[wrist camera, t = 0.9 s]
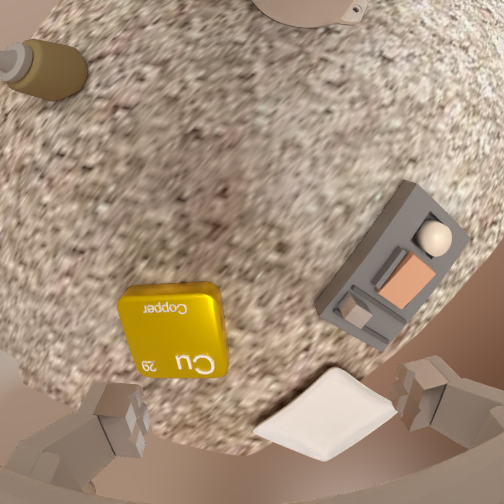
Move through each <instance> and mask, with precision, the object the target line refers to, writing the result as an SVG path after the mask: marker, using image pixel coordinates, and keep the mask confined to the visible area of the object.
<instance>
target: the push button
mask: <svg viewBox="0 0 504 504" xmlns="http://www.w3.org/2000/svg"><path fill="white" fill-rule="evenodd" d="M415 238H416V242H417V244H418V246H419V247H421V248H422V249H423V250H425V251H426V252H427V253H429V254H430V255H432V256H435V257H438V256H441V255H443V254H444V253H446V252H447V250H448V249H449V247H450V245H451V242H452V234H451V231H450V229H449V228H448V227H447V226H446V225H444V224H442V223H440V222H438V221H436V220H434V219H426V220H424V221H423V222H422V224H421V225H420V227H419V228H418V230H417V231H416V235H415Z"/></svg>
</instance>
